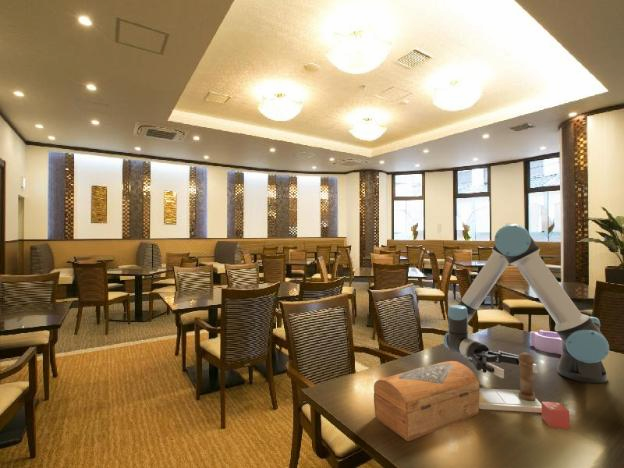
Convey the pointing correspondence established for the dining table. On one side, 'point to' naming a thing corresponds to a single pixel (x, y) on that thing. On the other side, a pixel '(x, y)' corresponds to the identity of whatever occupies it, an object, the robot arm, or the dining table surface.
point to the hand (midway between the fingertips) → (520, 371)
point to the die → (555, 415)
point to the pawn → (526, 377)
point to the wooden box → (426, 398)
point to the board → (506, 401)
